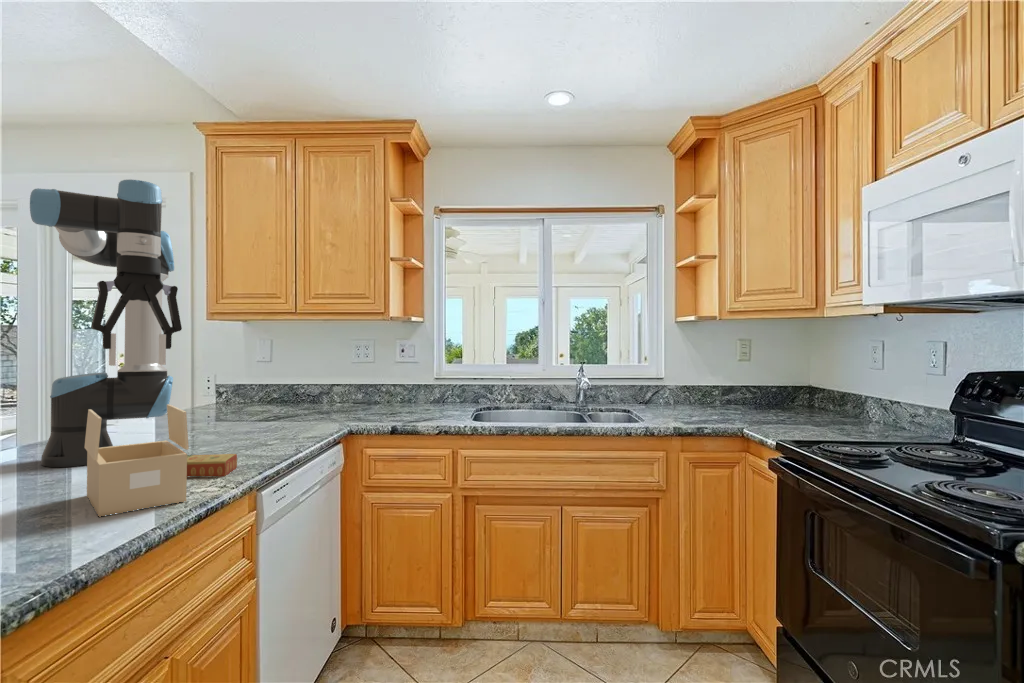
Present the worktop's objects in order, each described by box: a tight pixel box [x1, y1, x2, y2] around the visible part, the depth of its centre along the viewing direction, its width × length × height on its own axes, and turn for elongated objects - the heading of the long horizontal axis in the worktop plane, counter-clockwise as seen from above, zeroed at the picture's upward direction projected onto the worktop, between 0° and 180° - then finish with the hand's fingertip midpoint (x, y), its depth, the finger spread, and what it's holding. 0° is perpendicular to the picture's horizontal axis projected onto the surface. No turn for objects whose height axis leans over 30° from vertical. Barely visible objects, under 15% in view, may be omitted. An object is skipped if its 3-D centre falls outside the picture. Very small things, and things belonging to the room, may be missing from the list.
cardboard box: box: [86, 440, 188, 518], centre depth 110 cm, size 18×14×10 cm
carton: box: [187, 453, 238, 477], centre depth 132 cm, size 8×16×4 cm, turn 100°
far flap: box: [166, 403, 190, 450], centre depth 115 cm, size 15×8×1 cm
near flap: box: [84, 409, 102, 461], centre depth 105 cm, size 15×8×1 cm
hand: (137, 364), depth 110 cm, fingers open, 8 cm apart
